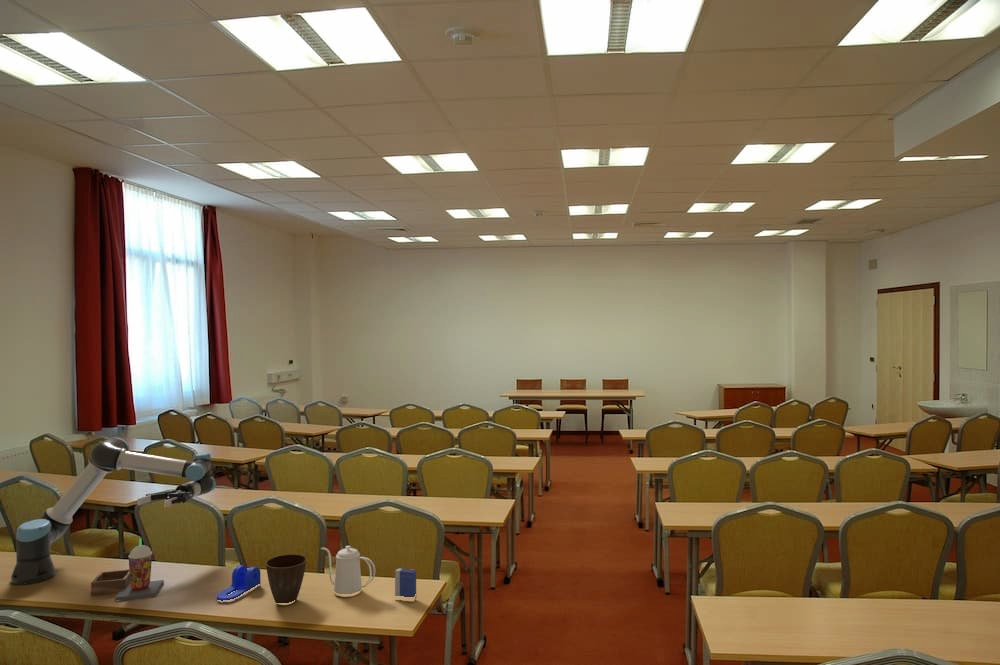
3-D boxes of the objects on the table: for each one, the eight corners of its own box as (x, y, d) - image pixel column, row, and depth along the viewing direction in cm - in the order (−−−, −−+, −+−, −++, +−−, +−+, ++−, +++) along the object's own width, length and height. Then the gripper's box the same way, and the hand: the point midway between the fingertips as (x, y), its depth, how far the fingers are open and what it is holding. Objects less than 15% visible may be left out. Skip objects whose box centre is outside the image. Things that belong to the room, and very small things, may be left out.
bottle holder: (101, 584, 256) (101, 572, 256) (133, 580, 259) (133, 568, 259) (90, 595, 244) (90, 582, 244) (124, 591, 248) (125, 579, 248)
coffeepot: (327, 584, 255) (327, 538, 256) (381, 591, 248) (381, 544, 248) (312, 594, 245) (312, 547, 245) (367, 602, 238) (367, 553, 238)
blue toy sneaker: (243, 584, 256) (243, 562, 256) (260, 586, 253) (260, 564, 253) (211, 602, 238) (212, 579, 238) (229, 604, 236) (229, 581, 236)
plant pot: (287, 591, 248) (287, 551, 248) (314, 598, 241) (314, 557, 241) (257, 605, 235) (257, 563, 235) (285, 613, 228) (285, 570, 228)
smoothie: (123, 590, 245) (123, 540, 245) (141, 583, 253) (141, 534, 253) (138, 593, 242) (139, 543, 242) (156, 585, 250) (157, 536, 250)
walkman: (416, 599, 240) (416, 569, 240) (413, 602, 237) (413, 571, 237) (397, 597, 242) (397, 567, 242) (394, 600, 239) (394, 569, 239)
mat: (125, 587, 252) (125, 583, 252) (163, 583, 256) (163, 579, 256) (115, 601, 239) (115, 597, 239) (155, 596, 243) (155, 593, 243)
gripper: (210, 500, 280) (176, 513, 260) (164, 497, 286) (127, 510, 265) (210, 484, 280) (176, 495, 260) (164, 481, 286) (127, 492, 265)
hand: (151, 503), depth 262 cm, fingers open, 13 cm apart
